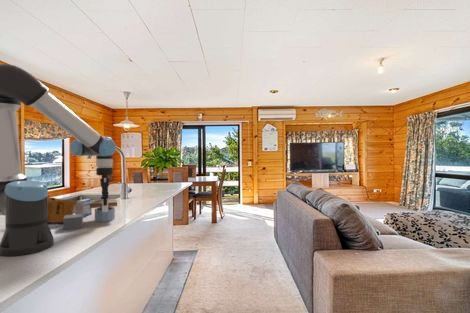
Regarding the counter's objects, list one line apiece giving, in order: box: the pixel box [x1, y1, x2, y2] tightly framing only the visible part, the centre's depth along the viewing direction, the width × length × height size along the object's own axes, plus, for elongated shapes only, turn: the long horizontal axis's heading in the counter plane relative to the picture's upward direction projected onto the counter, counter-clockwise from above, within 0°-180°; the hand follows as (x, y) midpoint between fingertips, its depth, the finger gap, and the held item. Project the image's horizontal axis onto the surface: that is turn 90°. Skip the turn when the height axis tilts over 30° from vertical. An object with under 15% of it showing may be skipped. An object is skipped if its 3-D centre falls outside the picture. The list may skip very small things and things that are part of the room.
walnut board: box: [90, 198, 118, 209], centre depth 132 cm, size 12×12×2 cm
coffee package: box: [48, 196, 78, 223], centre depth 127 cm, size 10×12×22 cm
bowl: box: [94, 206, 116, 222], centre depth 132 cm, size 9×9×6 cm
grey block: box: [62, 213, 84, 231], centre depth 118 cm, size 7×7×5 cm
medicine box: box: [74, 198, 93, 218], centre depth 140 cm, size 8×4×9 cm, turn 179°
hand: (104, 209), depth 132 cm, fingers closed on walnut board, 12 cm apart
